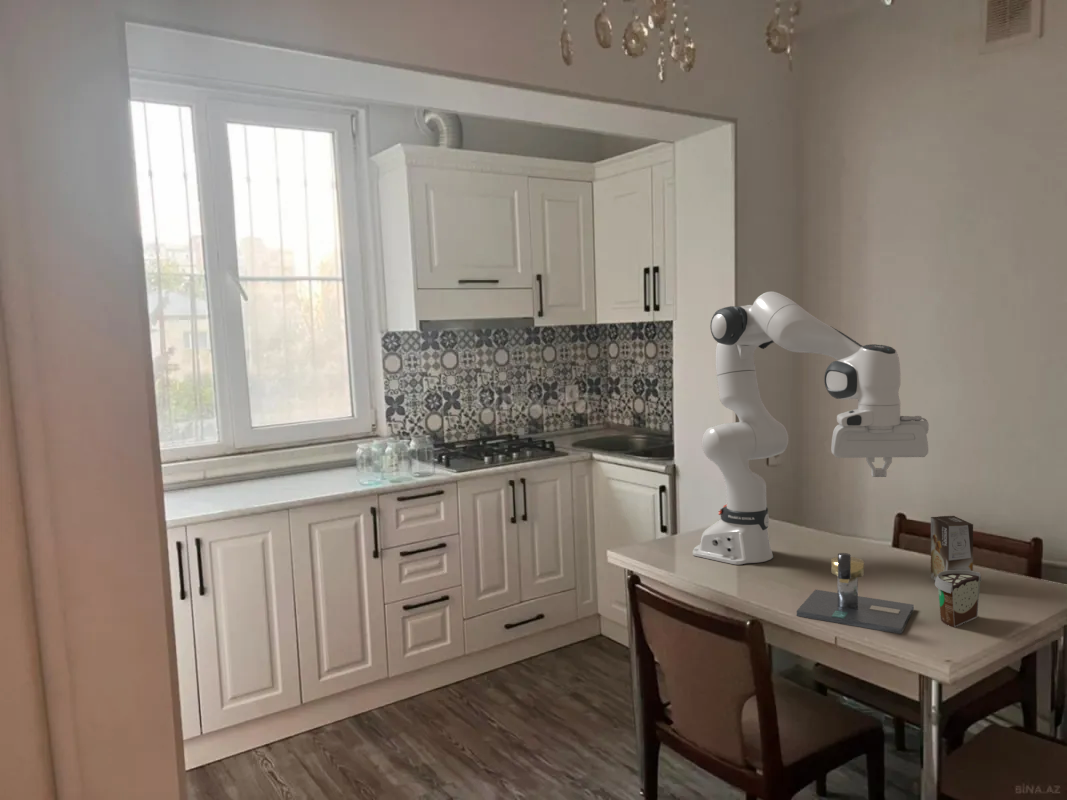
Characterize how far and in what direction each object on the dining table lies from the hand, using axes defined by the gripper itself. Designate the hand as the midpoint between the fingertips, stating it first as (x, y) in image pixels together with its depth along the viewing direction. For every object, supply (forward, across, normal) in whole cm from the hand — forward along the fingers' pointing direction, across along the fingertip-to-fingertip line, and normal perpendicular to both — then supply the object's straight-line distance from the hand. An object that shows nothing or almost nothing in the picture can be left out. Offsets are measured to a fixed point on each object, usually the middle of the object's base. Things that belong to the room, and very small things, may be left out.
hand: (878, 476), depth 178 cm
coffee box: (+31, -21, -20) cm, 42 cm away
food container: (+31, -14, +5) cm, 35 cm away
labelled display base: (+31, +6, +3) cm, 32 cm away
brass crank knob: (+22, +8, +4) cm, 24 cm away
